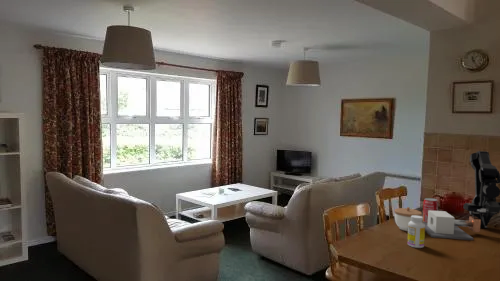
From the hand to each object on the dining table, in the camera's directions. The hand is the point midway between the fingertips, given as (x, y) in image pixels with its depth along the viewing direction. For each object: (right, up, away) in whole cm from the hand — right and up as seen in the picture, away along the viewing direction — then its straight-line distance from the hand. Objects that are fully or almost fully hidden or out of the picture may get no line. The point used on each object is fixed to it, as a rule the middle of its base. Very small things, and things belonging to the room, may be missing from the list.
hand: (485, 225), depth 176 cm
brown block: (-10, -2, +2) cm, 11 cm away
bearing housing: (-18, -4, +3) cm, 19 cm away
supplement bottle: (-42, -5, -18) cm, 46 cm away
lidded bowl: (-35, -4, +7) cm, 36 cm away
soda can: (-18, -3, +18) cm, 26 cm away
